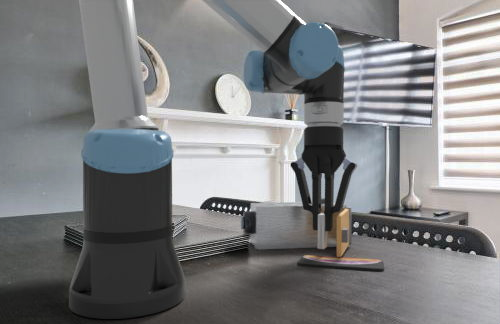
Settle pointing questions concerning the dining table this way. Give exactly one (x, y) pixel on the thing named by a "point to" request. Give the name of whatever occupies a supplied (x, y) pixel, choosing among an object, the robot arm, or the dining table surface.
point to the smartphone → (342, 263)
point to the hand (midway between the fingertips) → (322, 247)
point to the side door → (343, 231)
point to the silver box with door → (285, 226)
